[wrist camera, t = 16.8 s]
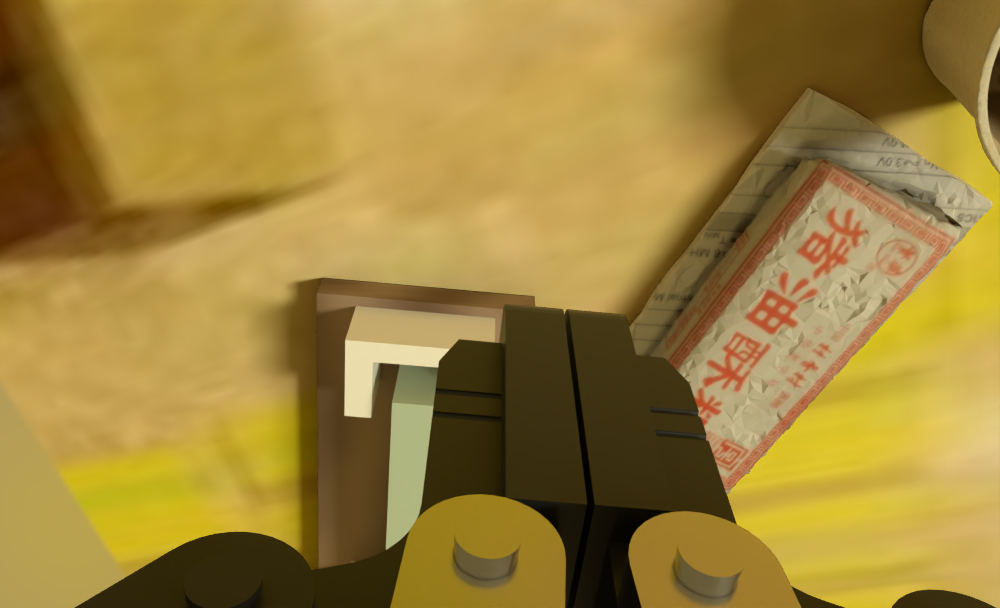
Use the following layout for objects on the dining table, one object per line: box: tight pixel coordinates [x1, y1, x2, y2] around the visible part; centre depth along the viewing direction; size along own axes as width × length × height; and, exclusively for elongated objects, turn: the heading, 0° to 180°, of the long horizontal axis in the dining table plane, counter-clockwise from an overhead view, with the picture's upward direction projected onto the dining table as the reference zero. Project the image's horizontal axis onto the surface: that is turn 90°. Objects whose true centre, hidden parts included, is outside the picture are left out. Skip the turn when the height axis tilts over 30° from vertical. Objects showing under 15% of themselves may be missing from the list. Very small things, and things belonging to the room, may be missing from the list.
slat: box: [386, 364, 438, 550], centre depth 43 cm, size 2×16×4 cm, turn 174°
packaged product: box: [629, 88, 993, 494], centre depth 39 cm, size 18×5×10 cm
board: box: [317, 278, 535, 569], centre depth 45 cm, size 10×21×2 cm, turn 174°
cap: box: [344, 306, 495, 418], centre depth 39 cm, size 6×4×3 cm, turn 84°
